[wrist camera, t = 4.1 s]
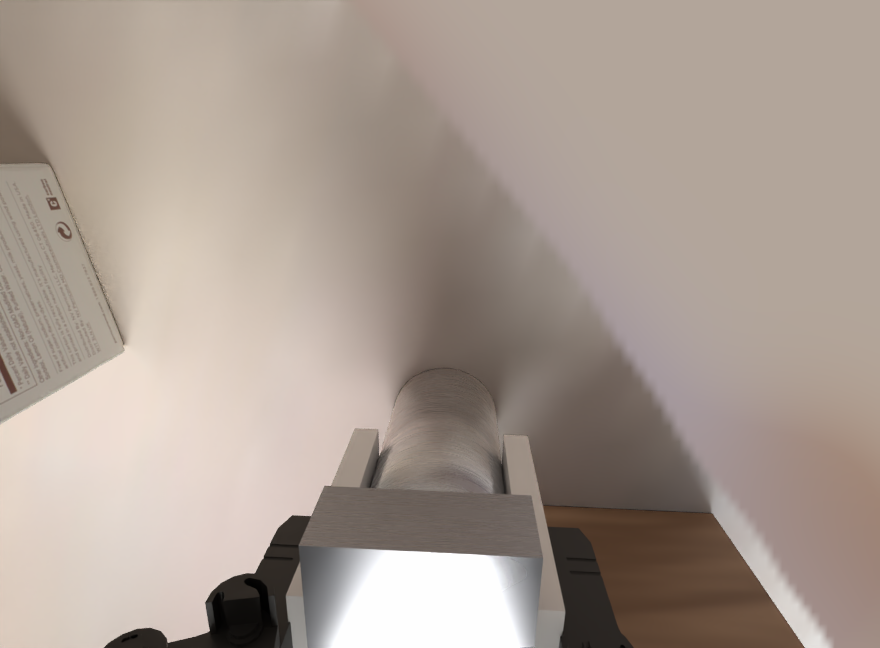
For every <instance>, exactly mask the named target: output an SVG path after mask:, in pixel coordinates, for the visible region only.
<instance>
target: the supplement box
mask: <svg viewBox="0 0 880 648" xmlns="http://www.w3.org/2000/svg"><path fill="white" fill-rule="evenodd" d="M123 352H124V347H123V342H122V339H121V337H120V334H119V331H118V328H117V326H116V323H115V321H114V318H113V316H112V313H111V311H110V309H109V306H108V303H107V301H106V298H105V296H104V293H103V291H102V289H101V286H100V283H99V281H98V279H97V277H96V273H95V271H94V268H93V266H92V264H91V261H90V259H89V256H88V254H87V251H86V249H85V247H84V244H83V242H82V239H81V237H80V234H79V231H78V229H77V227H76V224H75V222H74V219H73V217H72V215H71V212H70V210H69V207H68V205H67V203H66V200H65V198H64V196H63V193H62V191H61V188H60V186H59V183H58V181H57V179H56V177H55V174H54V172H53V170H52V168H51V167H50V165H48V164H45V163H19V164H0V424H2V423H3V422H5V421H7V420H8V419H10V418H12V417H14V416H15V415H17V414H19V413H21V412H22V411H24V410H26V409H28V408H29V407H31V406H33V405H34V404H36V403H38V402H39V401H41V400H43V399H45V398H46V397H48V396H50V395H52V394H54V393H55V392H57V391H59V390H60V389H62V388H64V387H65V386H67V385H69V384H71V383H72V382H74V381H76V380H77V379H79V378H81V377H83V376H84V375H86V374H88V373H89V372H91V371H93V370H94V369H96V368H97V367H99V366H101V365H103V364H105V363H106V362H108V361H110V360H112V359H113V358H115V357H117V356H118V355H120V354H122V353H123Z"/></svg>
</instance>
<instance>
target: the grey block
mask: <svg viewBox="0 0 880 648" xmlns="http://www.w3.org/2000/svg"><path fill="white" fill-rule="evenodd" d="M299 556H300V567H301V579H302V590H303V601H304V613H305V624H306V636H307V647H308V648H534V646H535V636H536V626H537V616H538V606H539V596H540V586H541V576H542V566H543V554H542V549H541V544H540V538H539V533H538V528H537V523H536V517H535V512H534V507H533V501H532V496H531V495H512V494H505V490H504V481H503V472H502V463H501V454H500V445H499V436H498V427H497V418H496V410H495V405H494V401H493V399H492V397H491V395H490V393H489V391H488V390H487V388H486V387H485V386H484V385H483V384H482V383H481V382H480V381H479V380H478V379H476V378H475V377H473V376H472V375H469V374H467V373H465V372H463V371H460V370H455V369H449V368H438V369H432V370H428V371H425V372H422V373H420V374H418V375H416V376H415V377H413V378H412V379H411V380H409V381H408V382H407V383H406V384H405V385H404V387H403V388H402V389H401V391H400V392H399V394H398V396H397V399H396V402H395V405H394V409H393V412H392V415H391V419H390V422H389V426H388V429H387V432H386V436H385V439H384V442H383V446H382V449H381V453H380V456H379V459H378V463H377V466H376V470H375V473H374V476H373V480H372V483H371V486H370V488H360V487H338V486H324V488H323V491H322V493H321V495H320V498H319V500H318V502H317V505H316V507H315V509H314V511H313V514H312V516H311V518H310V521H309V523H308V525H307V527H306V530H305V532H304V534H303V537H302V539H301V541H300V544H299Z"/></svg>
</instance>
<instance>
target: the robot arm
mask: <svg viewBox="0 0 880 648" xmlns="http://www.w3.org/2000/svg"><path fill="white" fill-rule="evenodd" d="M378 459H379V434H378V429H355V430H354V432H353V435H352V437H351V440H350V442H349V444H348V447H347V449H346V452H345V454H344V456H343V459H342V461H341V464H340V466H339V468H338V471H337V473H336V476H335V478H334V480H333V483H332V485H331V486H338V487H360V488H370V486H371V483H372V480H373V476H374V473H375V470H376V466H377V463H378ZM502 472H503V481H504V490H505V494H512V495H531V496H532V501H533V507H534V512H535V517H536V523H537V528H538V533H539V538H540V544H541V549H542V554H543V566H542V576H541V586H540V596H539V606H538V616H537V626H536V636H535V646H534V648H634V647H633V646H632V645H631V643H630V642H629V641H628V639H627V638H626V637H625V636H624V635H623V634H621V632H620V630H619V628H618V625H617V622H616V619H615V616H614V613H613V610H612V606H611V603H610V600H609V597H608V594H607V591H606V588H605V585H604V581H603V578H602V576H601V572H600V569H599V566H598V563H597V562H596V556H595V553H594V550H593V547H592V544H591V542H590V541H589V540H588V538H587V537H586V536H585V535H584V534H583V533H582V531H581V530H580V529H579V528H567V527H547V523H546V519H545V514H544V510H543V505H542V500H541V496H540V491H539V486H538V482H537V477H536V472H535V468H534V463H533V458H532V454H531V449H530V444H529V440H528V436H526V435H504V437H503V453H502ZM310 518H311V516H294V515H292V516H291V517H290V518H289V519H288V520H287V521H286V522H285V523H283V524H282V525H281V526H280V527H279V528H278V529H277V531H276V533H275V535H274V537H273V539H272V541H271V543H270V547H268V549H267V551H266V553H265V555H264V559H262V561H261V563H260V565H259V567H258V569H257V571H256V573H255V574H250V573H247V574H242V575H238V576H234V577H232V578H230V579H228V580H226V581H224V582H222V583H221V584H220V585H219V586H218V587H217V588H215V589H214V590H213V591H212V592H211V594H210V595H209V597H208V599H207V601H206V602H205V604H206V610H207V616H208V622H209V628H210V632H208V633H205V634H202V635H199V636H196V637H192V638H188V639H183V640H179V641H175V642H170V643H167V638H166V637H165V636H164V635H163V633H162V632H161V631H159V630H155V629H152V628H144V629H136V630H133V631H130V632H128V633H125V634H122V635H121V636H119V637H118V638H116V639H114V640H113V641H111V642H110V643H108V644H107V645H106V646H105V647H104V648H308V647H307V636H306V624H305V613H304V601H303V590H302V579H301V567H300V556H299V544H300V541H301V539H302V537H303V534H304V532H305V530H306V527H307V525H308V523H309V521H310Z"/></svg>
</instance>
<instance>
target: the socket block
mask: <svg viewBox="0 0 880 648" xmlns="http://www.w3.org/2000/svg"><path fill="white" fill-rule="evenodd" d="M543 510H544V514H545V519H546V523H547V527H567V528H579V529H580V530H581V531H582V533H583V534H584V535H585V536H586V537H587V538H588V540H589V541H590V542H591V544H592V547H593V550H594V553H595V556H596V562H597V563H598V566H599V569H600V572H601V576H602V578H603V581H604V585H605V588H606V591H607V594H608V597H609V600H610V603H611V606H612V610H613V613H614V616H615V619H616V622H617V625H618V628H619V630H620V632H621V634H623V635H624V636H625V637H626V638H627V639H628V641H629V642H630V643H631V645H632V646H633V647H634V648H805V647H804V646H803V645H802V643H801V642H800V640H799V639H798V637H797V636H796V634H795V633H794V631H793V630H792V629H791V627H790V626H789V624H788V623H787V621H786V620H785V618H784V617H783V616H782V614H781V613H780V611H779V610H778V608H777V607H776V605H775V604H774V602H773V601H772V600H771V598H770V597H769V595H768V594H767V592H766V591H765V589H764V588H763V586H762V585H761V584H760V582H759V581H758V579H757V578H756V576H755V575H754V573H753V572H752V570H751V569H750V568H749V566H748V565H747V563H746V562H745V560H744V559H743V557H742V556H741V554H740V553H739V552H738V550H737V549H736V547H735V546H734V544H733V543H732V541H731V540H730V538H729V537H728V536H727V534H726V533H725V531H724V530H723V528H722V527H721V525H720V524H719V522H718V521H717V520H716V518H715V517H714V515H713V514H711V513H689V512H668V511H647V510H625V509H604V508H583V507H561V506H543Z"/></svg>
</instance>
